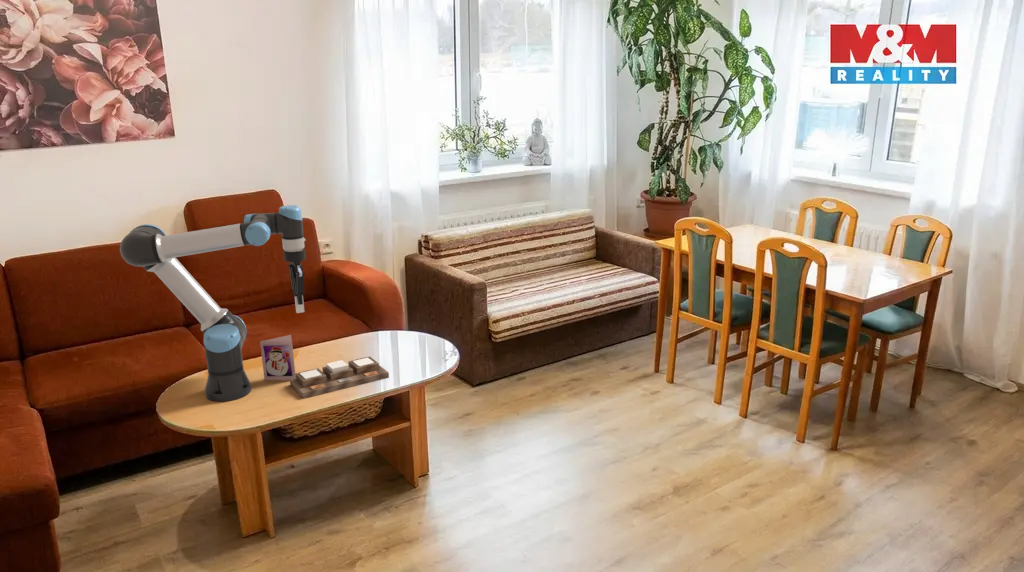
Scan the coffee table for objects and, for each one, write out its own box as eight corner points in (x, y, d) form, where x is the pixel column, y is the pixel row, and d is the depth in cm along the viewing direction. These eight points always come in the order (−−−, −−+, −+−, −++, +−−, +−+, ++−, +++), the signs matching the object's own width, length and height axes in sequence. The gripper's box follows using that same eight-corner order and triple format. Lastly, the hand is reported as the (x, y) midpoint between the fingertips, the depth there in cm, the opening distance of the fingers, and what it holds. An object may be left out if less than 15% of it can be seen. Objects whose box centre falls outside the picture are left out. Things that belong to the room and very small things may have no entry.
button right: (359, 372, 288) (359, 366, 287) (353, 367, 293) (352, 361, 292) (374, 368, 291) (374, 362, 290) (368, 363, 296) (367, 357, 295)
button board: (303, 398, 272) (302, 386, 271) (290, 384, 283) (289, 373, 282) (388, 377, 289) (388, 365, 287) (373, 365, 300) (372, 354, 299)
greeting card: (263, 381, 287) (259, 342, 283) (269, 373, 294) (265, 335, 290) (295, 380, 287) (291, 341, 282) (300, 372, 294) (296, 334, 290)
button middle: (332, 375, 282) (332, 368, 281) (326, 369, 287) (326, 363, 286) (348, 371, 285) (348, 365, 285) (342, 366, 290) (342, 360, 289)
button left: (305, 385, 277) (305, 378, 277) (300, 379, 282) (299, 373, 281) (322, 381, 280) (321, 374, 280) (316, 375, 285) (315, 369, 285)
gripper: (309, 251, 278) (315, 315, 285) (299, 244, 289) (305, 305, 296) (288, 254, 274) (294, 318, 281) (279, 246, 285) (285, 309, 292)
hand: (300, 312), depth 288 cm, fingers closed
